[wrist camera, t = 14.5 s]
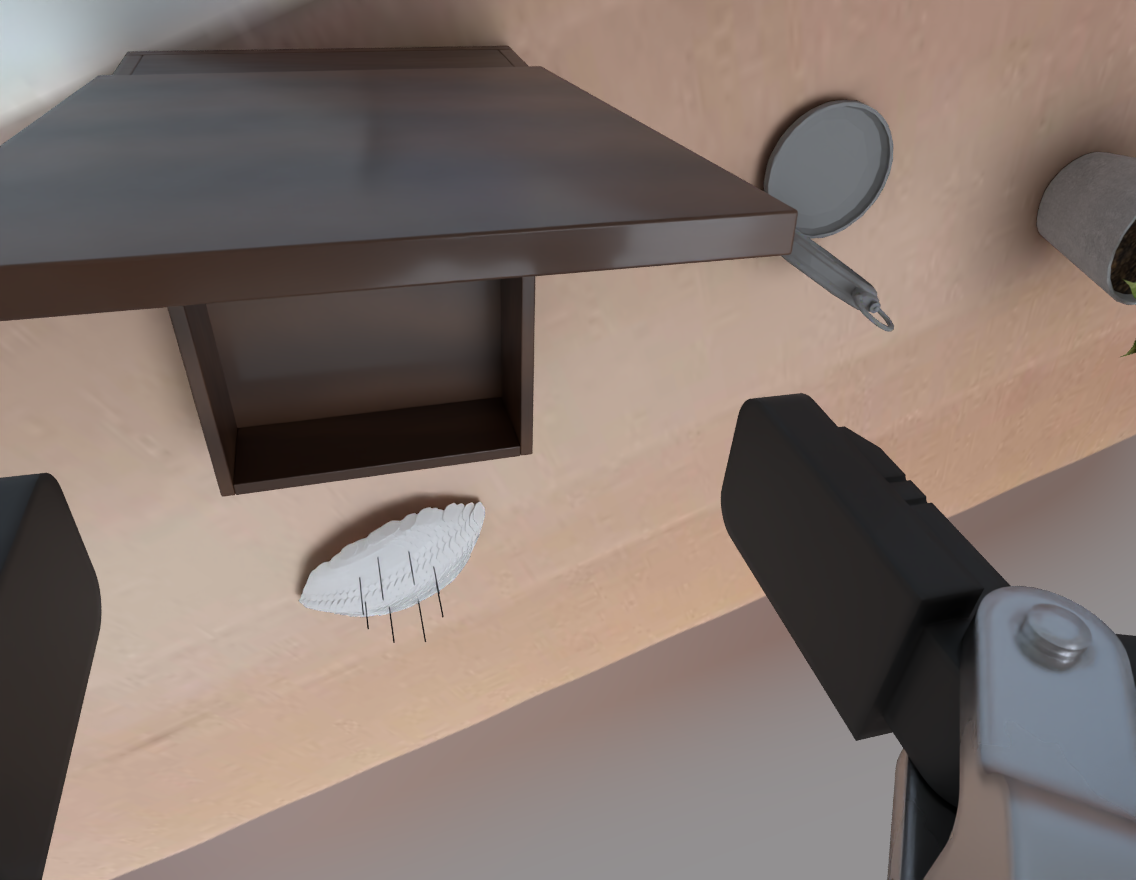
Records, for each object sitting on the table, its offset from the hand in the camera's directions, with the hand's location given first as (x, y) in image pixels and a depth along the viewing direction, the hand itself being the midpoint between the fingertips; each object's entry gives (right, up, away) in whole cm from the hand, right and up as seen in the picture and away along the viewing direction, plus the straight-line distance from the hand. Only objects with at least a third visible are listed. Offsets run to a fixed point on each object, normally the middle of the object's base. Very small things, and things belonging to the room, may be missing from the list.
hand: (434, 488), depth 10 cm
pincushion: (-9, -6, +37) cm, 39 cm away
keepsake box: (-8, +9, +26) cm, 29 cm away
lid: (-4, +7, +10) cm, 13 cm away
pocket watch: (+13, +13, +31) cm, 36 cm away
